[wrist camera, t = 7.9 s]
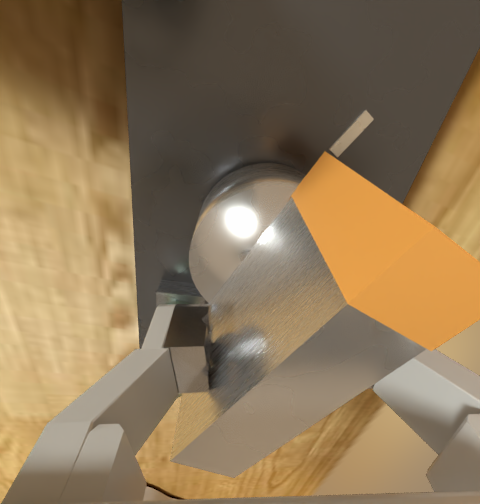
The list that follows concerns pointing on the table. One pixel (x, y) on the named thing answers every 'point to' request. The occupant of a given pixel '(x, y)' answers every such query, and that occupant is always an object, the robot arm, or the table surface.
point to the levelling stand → (276, 104)
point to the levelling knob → (310, 304)
